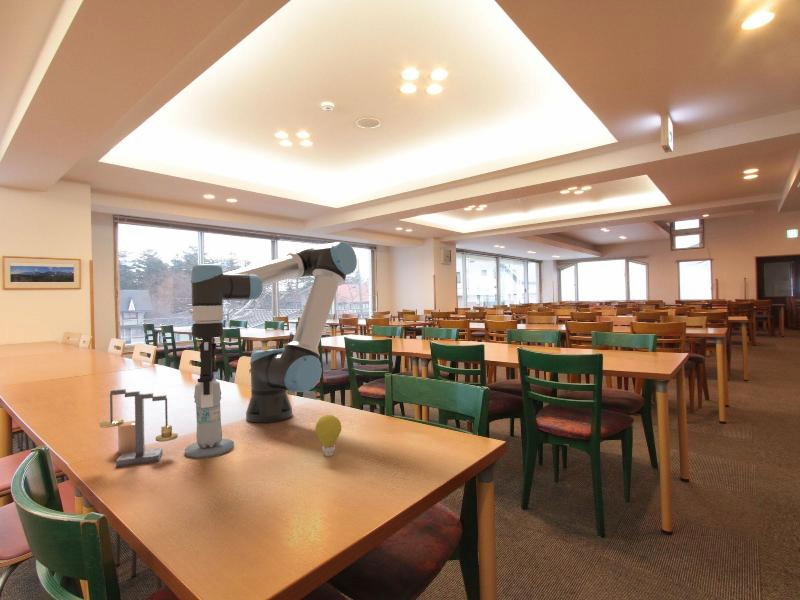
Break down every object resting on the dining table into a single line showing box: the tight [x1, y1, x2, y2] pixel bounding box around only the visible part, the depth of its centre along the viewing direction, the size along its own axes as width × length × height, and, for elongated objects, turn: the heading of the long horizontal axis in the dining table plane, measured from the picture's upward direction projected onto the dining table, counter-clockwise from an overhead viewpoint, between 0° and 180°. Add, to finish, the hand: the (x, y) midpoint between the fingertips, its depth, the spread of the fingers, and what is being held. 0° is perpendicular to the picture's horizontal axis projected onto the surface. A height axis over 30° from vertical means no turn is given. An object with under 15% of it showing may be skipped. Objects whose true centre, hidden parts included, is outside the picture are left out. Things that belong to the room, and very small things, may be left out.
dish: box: [184, 438, 235, 459], centre depth 113 cm, size 12×12×1 cm
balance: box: [98, 388, 179, 468], centre depth 106 cm, size 17×6×18 cm, turn 111°
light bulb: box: [314, 414, 342, 457], centre depth 108 cm, size 7×7×10 cm
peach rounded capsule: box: [117, 420, 136, 454], centre depth 114 cm, size 6×6×7 cm
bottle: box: [193, 372, 223, 448], centre depth 113 cm, size 7×7×20 cm
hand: (209, 401), depth 113 cm, fingers open, 13 cm apart
